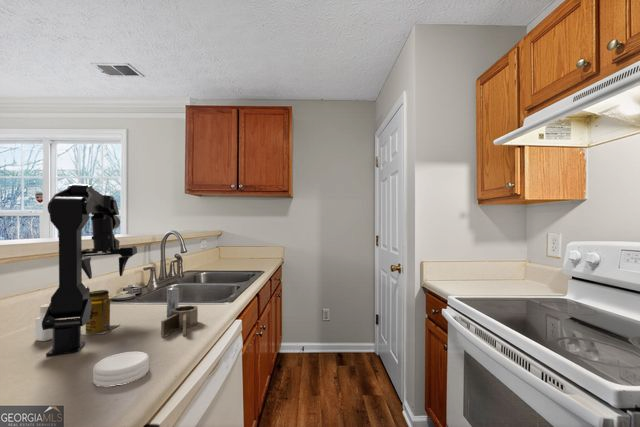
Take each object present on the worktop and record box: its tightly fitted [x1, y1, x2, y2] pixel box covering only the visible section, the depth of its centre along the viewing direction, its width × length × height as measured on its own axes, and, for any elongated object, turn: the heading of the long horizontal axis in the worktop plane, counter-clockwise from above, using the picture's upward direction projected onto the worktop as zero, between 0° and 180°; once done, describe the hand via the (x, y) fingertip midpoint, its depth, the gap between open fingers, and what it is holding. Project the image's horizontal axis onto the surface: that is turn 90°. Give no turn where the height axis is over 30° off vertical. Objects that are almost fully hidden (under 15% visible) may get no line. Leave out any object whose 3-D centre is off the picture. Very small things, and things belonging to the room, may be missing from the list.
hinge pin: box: [166, 287, 179, 319], centre depth 108 cm, size 4×4×10 cm
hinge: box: [160, 304, 199, 338], centre depth 96 cm, size 15×10×5 cm, turn 23°
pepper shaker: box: [34, 303, 60, 342], centre depth 88 cm, size 4×4×10 cm
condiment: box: [81, 289, 121, 336], centre depth 95 cm, size 7×8×12 cm
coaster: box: [92, 351, 150, 387], centre depth 66 cm, size 10×10×4 cm
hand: (106, 277), depth 106 cm, fingers open, 9 cm apart
